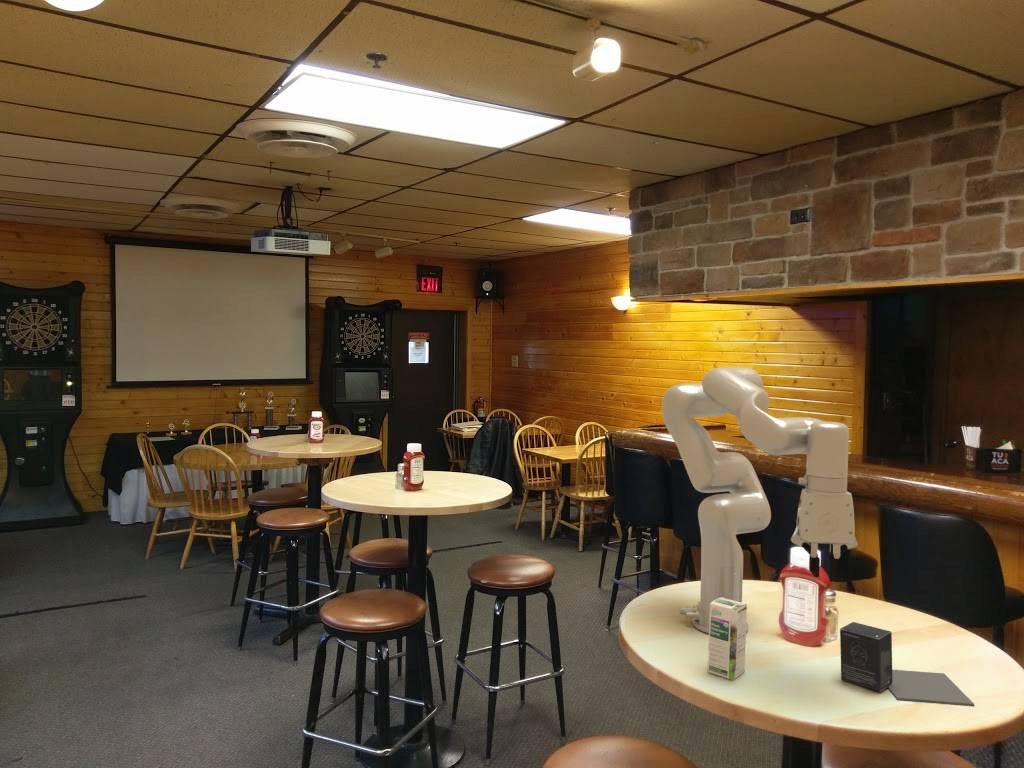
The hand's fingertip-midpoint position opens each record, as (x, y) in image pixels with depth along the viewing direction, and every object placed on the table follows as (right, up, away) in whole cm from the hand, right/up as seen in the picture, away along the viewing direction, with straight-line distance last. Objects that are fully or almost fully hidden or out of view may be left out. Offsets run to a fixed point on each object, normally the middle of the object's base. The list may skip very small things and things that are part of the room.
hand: (822, 575), depth 147 cm
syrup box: (-18, -21, +4) cm, 28 cm away
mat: (+19, -22, -2) cm, 29 cm away
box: (+9, -21, 0) cm, 23 cm away
